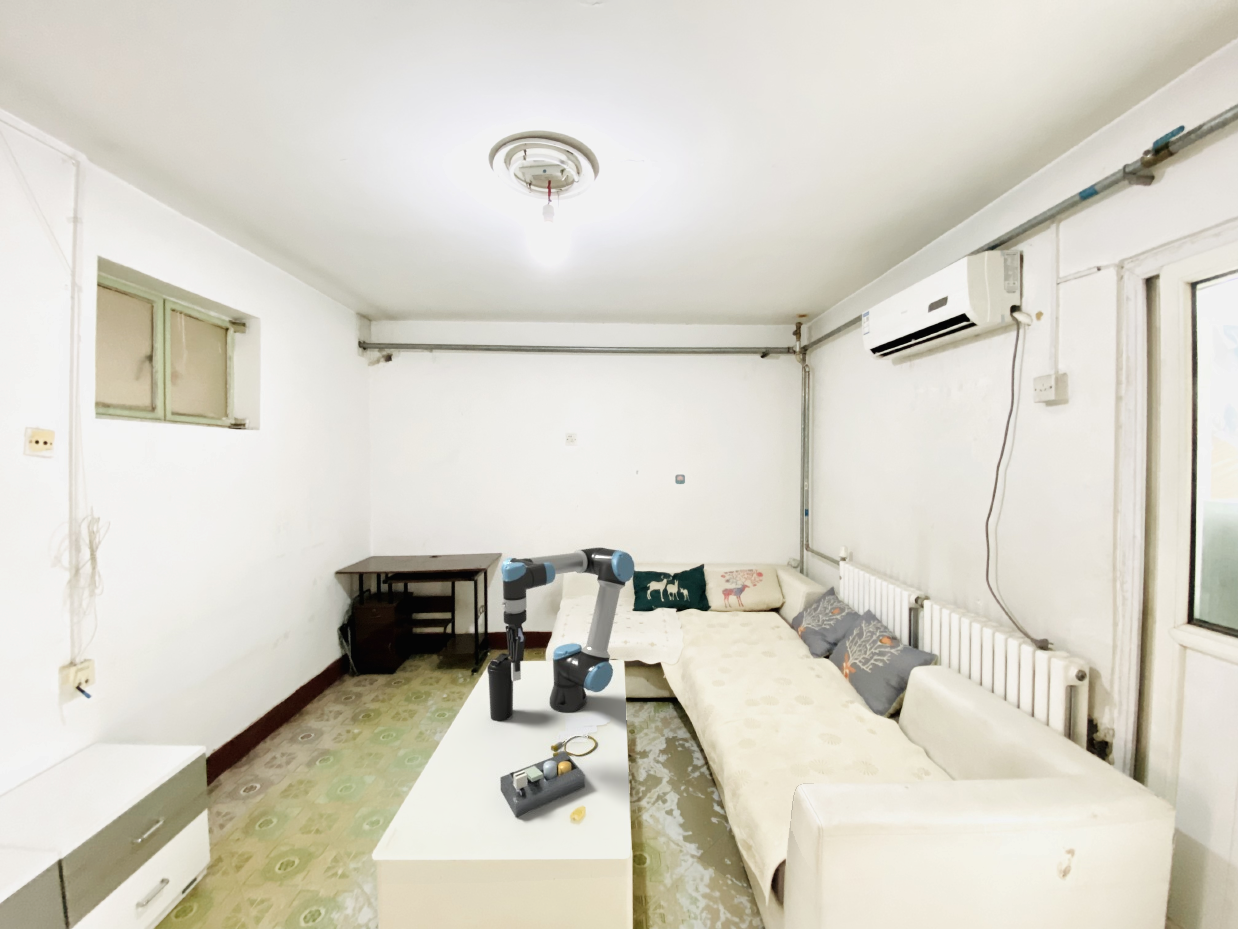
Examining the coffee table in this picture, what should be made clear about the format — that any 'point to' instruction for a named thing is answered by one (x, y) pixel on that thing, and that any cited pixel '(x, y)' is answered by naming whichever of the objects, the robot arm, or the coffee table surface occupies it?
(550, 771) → the blue-grey button
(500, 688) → the water bottle
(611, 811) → the coffee table surface
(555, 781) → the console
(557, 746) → the extension cord
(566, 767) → the amber button
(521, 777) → the fader knob
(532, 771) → the panel
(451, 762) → the coffee table surface
